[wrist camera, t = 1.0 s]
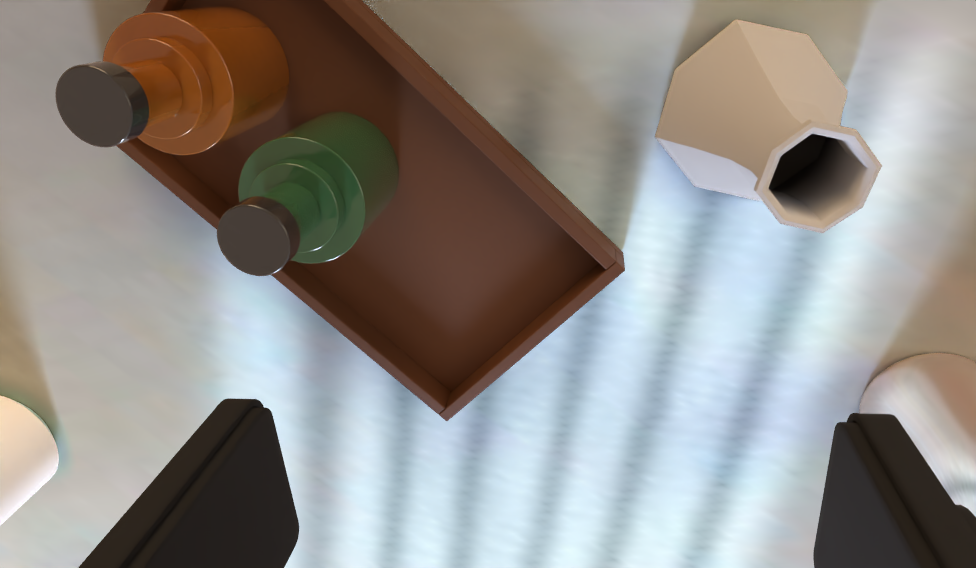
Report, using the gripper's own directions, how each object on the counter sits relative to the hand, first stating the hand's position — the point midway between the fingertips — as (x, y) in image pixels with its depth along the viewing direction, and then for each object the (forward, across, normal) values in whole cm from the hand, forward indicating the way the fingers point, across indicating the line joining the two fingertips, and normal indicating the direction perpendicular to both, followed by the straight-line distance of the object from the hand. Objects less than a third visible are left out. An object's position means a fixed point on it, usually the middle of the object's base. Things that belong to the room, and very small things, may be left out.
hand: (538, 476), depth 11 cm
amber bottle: (+20, +15, -5) cm, 26 cm away
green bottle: (+20, +10, 0) cm, 23 cm away
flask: (+21, -7, -2) cm, 23 cm away
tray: (+21, +10, +1) cm, 23 cm away
